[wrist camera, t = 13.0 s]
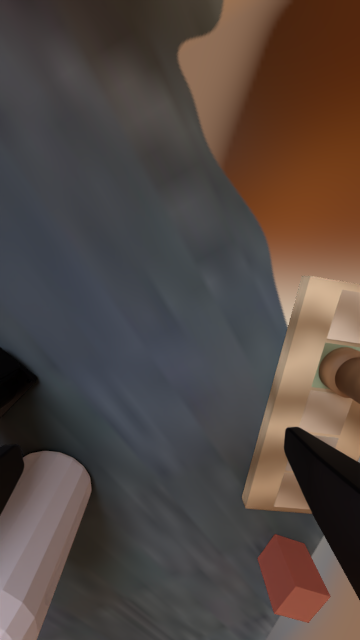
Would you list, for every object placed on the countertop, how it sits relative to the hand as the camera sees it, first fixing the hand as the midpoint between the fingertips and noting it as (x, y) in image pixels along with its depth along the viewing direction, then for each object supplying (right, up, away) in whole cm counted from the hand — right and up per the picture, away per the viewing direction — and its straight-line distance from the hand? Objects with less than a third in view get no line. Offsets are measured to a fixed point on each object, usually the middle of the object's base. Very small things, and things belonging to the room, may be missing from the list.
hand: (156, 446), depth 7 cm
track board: (+16, -5, +15) cm, 22 cm away
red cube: (+14, -26, +19) cm, 35 cm away
